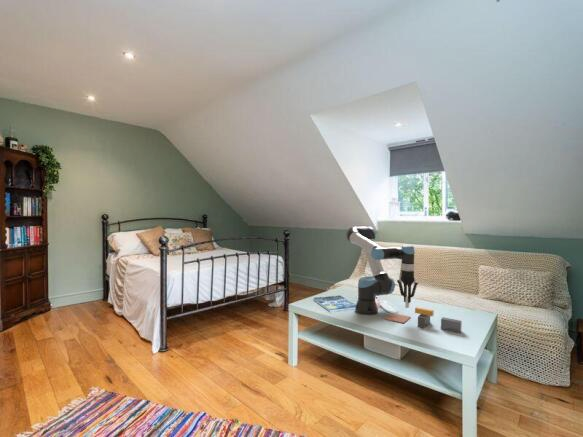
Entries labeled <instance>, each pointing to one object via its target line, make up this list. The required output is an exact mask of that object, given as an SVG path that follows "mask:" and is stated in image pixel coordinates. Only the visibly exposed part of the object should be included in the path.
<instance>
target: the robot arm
mask: <svg viewBox="0 0 583 437" xmlns="http://www.w3.org/2000/svg"><path fill="white" fill-rule="evenodd" d="M345 233H346V234H345V237H346V240H347V241H348V242H349V243H351V244H354V245H357V246H358V247H360V248H361V249H363V251H364V253H365V257H366V259H367V263H368V266H369V268H370V271H371V274H372V276H370V275H369V276H362V277H360V278H359V279H358V283H357V302H356V304H355V309H354V310H355V312H356V313H358V314H360V315H364V316H365V315H367V316H369V315H370V316H372V315H377V314H378V313H379V309H378V306H377V302H376V296H388V295H391V294H393V292H394V291H395V289H396V288H395V287H396V284H395V280H394V279H393V278H392V277H389V274H388V273H387V272H385V269H384V267H383V265H382V264H383V263H382V262H381V260H401V272H400V273H401V277H400V278H399V279H397V280H396V282H397V284H398V287H399V292H400V296H402V297H403V302H404V303H405V309H408V308H410V304H411V300H412V298H414V297H415V293H416V290H417V286H418V285H419V282H418V281H416V279H415V271H414V270H415V246H414V245H405V244H404V245H401V247H400V246H399V247H397V246H391V247H390V246H389V247H382V246H380V245H378V244H377V243H375V242H376V239H377V236H376V235H377V233H376V231H375V229H374V228H373V227H372V226H352V227H350V228H348V229H347V231H346V232H345ZM412 285H413V286H412Z"/></svg>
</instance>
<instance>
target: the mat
mask: <svg viewBox="0 0 583 437" xmlns="http://www.w3.org/2000/svg"><path fill="white" fill-rule="evenodd" d="M410 319H412V318H411V316H408V315H404V314H400V313H395V312H392V313H391V314H389V315H388V316H386V317H385V318H384V320H385V321H390V322H396V323H399V324H405V323H407V322H408V321H409V320H410Z"/></svg>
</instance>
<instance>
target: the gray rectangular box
mask: <svg viewBox="0 0 583 437" xmlns="http://www.w3.org/2000/svg"><path fill="white" fill-rule="evenodd" d="M462 323H463V322H462V320H460V319H459V320H458V319H454V318H449V317H444V316H443V317H441V319H440V330H444V331H448V332H453V333H456V334H457V333H458V334H461V333H462V327H463V326H462Z"/></svg>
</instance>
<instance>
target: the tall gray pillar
mask: <svg viewBox="0 0 583 437" xmlns="http://www.w3.org/2000/svg"><path fill="white" fill-rule="evenodd" d="M430 323H431V316H428V315H423V314H419V315H418V316H417V327H419V328H426V327H427V326H428V325H429V324H430Z"/></svg>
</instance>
